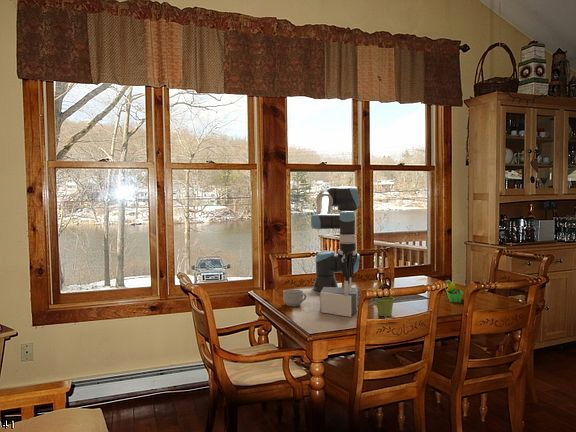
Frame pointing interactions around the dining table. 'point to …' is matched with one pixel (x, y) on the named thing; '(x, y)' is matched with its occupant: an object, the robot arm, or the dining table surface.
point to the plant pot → (385, 306)
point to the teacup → (293, 297)
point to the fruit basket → (453, 292)
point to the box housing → (340, 290)
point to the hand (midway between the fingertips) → (348, 290)
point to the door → (336, 302)
